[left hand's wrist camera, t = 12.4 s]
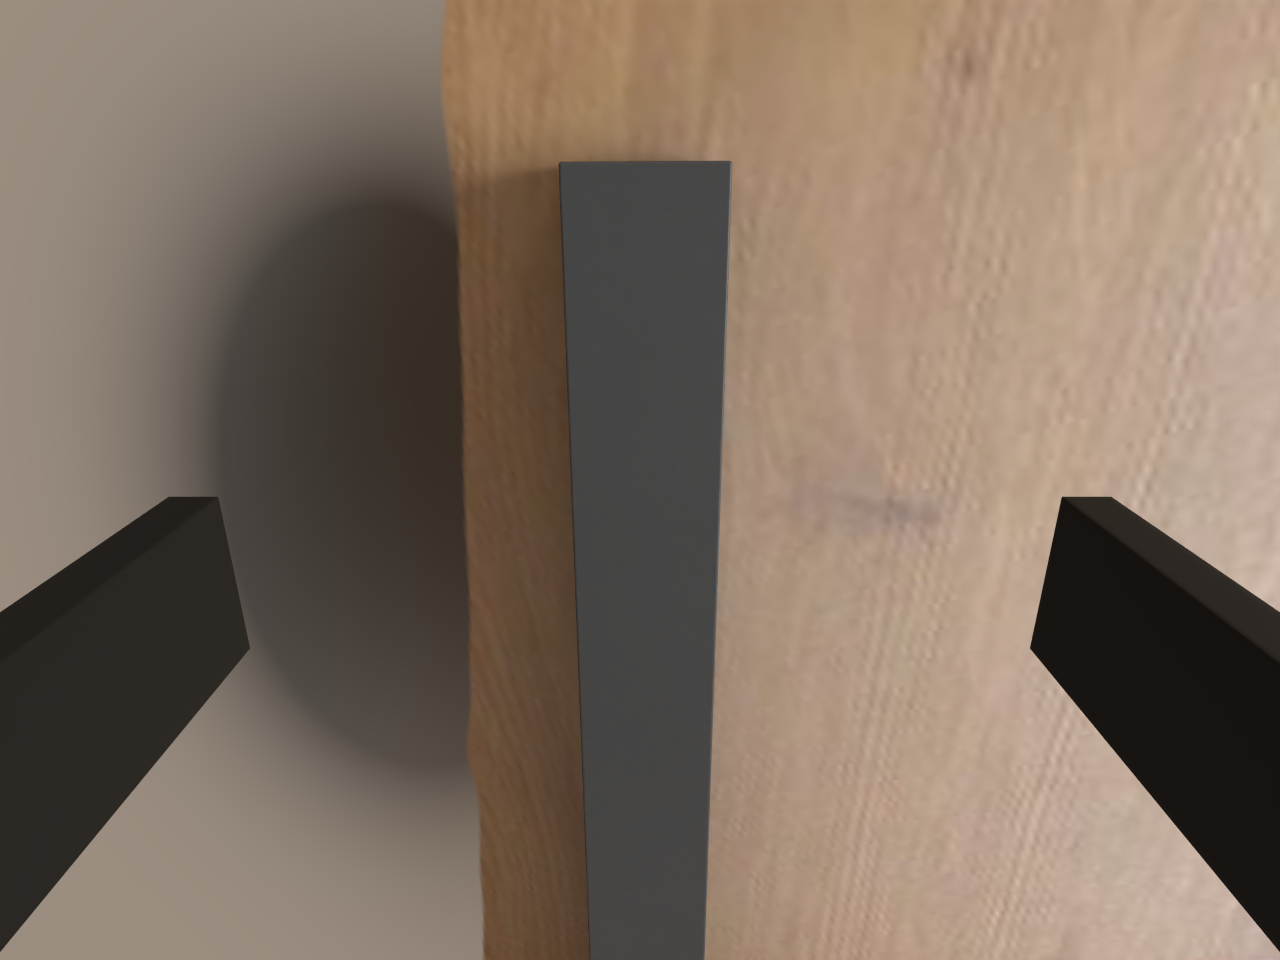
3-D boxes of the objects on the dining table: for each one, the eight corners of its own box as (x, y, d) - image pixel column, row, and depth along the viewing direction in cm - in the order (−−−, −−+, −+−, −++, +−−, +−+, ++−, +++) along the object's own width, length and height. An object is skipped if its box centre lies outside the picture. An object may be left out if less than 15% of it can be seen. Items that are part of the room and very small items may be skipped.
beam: (576, 164, 32) (558, 161, 25) (713, 163, 32) (732, 161, 25) (605, 1101, 54) (600, 1236, 47) (687, 1101, 54) (694, 1236, 47)
